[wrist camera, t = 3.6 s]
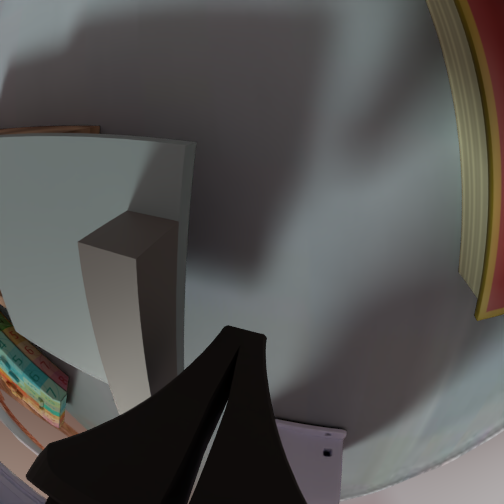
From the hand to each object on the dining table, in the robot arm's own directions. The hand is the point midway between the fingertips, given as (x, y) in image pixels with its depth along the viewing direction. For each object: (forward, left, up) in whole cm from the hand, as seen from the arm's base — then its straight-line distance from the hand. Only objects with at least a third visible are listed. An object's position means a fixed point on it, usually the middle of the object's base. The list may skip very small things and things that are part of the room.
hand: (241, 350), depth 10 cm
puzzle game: (+28, +19, -6) cm, 34 cm away
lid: (+9, 0, -1) cm, 9 cm away
